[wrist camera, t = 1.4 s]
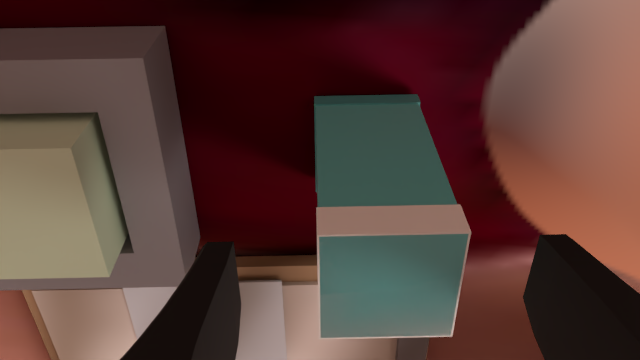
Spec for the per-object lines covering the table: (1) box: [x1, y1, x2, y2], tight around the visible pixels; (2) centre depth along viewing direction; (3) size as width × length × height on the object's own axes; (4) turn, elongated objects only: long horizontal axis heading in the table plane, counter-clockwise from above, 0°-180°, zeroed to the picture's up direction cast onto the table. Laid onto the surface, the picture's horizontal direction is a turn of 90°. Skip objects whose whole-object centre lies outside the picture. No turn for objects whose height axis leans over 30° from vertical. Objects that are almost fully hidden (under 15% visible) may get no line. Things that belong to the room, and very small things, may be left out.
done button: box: [0, 112, 129, 279], centre depth 16 cm, size 4×4×3 cm
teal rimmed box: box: [314, 94, 471, 339], centre depth 16 cm, size 3×3×7 cm
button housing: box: [0, 26, 200, 290], centre depth 17 cm, size 8×8×3 cm
